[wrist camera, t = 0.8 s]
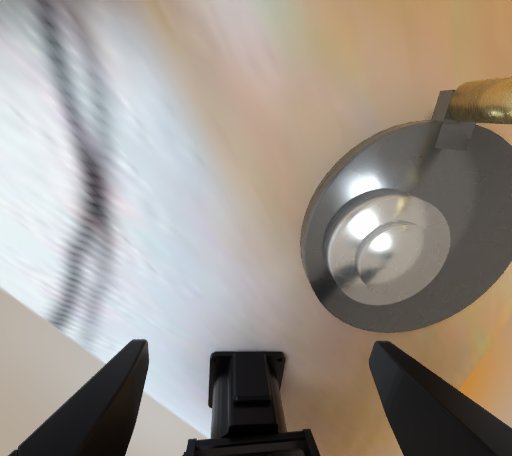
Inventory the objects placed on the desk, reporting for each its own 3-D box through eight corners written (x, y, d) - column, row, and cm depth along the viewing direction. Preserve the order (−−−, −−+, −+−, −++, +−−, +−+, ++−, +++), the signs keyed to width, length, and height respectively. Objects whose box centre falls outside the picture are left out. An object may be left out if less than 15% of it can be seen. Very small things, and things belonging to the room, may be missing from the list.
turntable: (462, 320, 24) (558, 407, 17) (286, 317, 22) (313, 413, 15) (564, 97, 17) (790, 89, 10) (328, 68, 15) (409, 34, 8)
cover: (409, 288, 20) (436, 314, 17) (313, 285, 19) (326, 313, 16) (443, 192, 17) (480, 206, 15) (333, 184, 16) (353, 197, 14)
